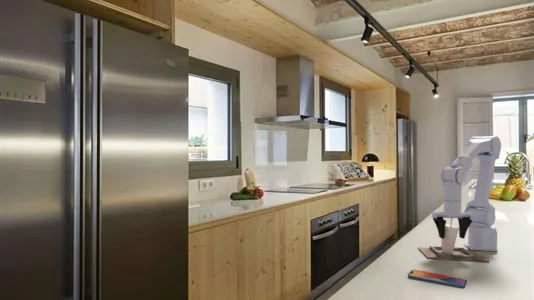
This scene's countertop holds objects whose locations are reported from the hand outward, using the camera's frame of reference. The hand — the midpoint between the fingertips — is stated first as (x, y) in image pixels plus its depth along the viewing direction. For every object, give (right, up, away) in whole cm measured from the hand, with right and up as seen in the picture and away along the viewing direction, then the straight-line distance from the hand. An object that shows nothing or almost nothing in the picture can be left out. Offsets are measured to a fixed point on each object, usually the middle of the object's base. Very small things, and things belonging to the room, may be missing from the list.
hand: (451, 237), depth 138 cm
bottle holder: (0, -6, 0) cm, 6 cm away
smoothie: (-1, -6, +1) cm, 6 cm away
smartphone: (-18, -6, -27) cm, 33 cm away
